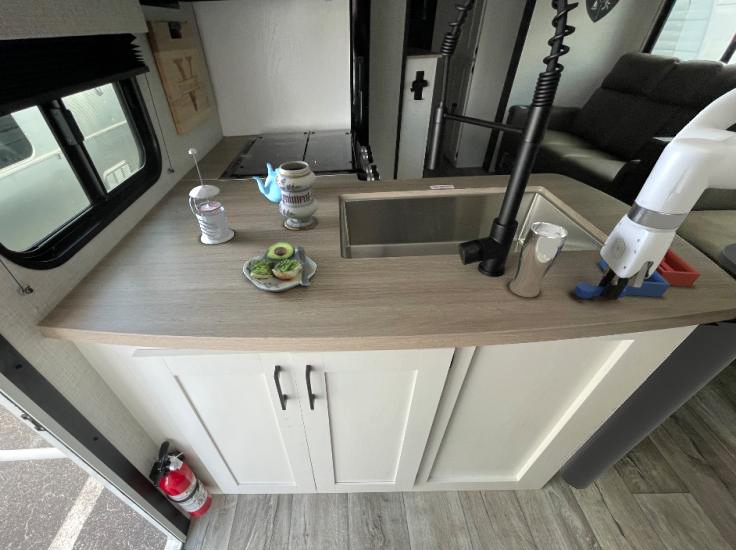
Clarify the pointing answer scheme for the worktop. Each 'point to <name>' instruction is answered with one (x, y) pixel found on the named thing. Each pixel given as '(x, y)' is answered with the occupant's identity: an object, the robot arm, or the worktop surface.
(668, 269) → the red spoon
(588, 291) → the blue spoon
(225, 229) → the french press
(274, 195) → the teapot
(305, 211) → the apothecary jar
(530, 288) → the beer glass
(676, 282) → the red bin
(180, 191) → the worktop surface
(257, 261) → the salad plate
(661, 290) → the blue bin
